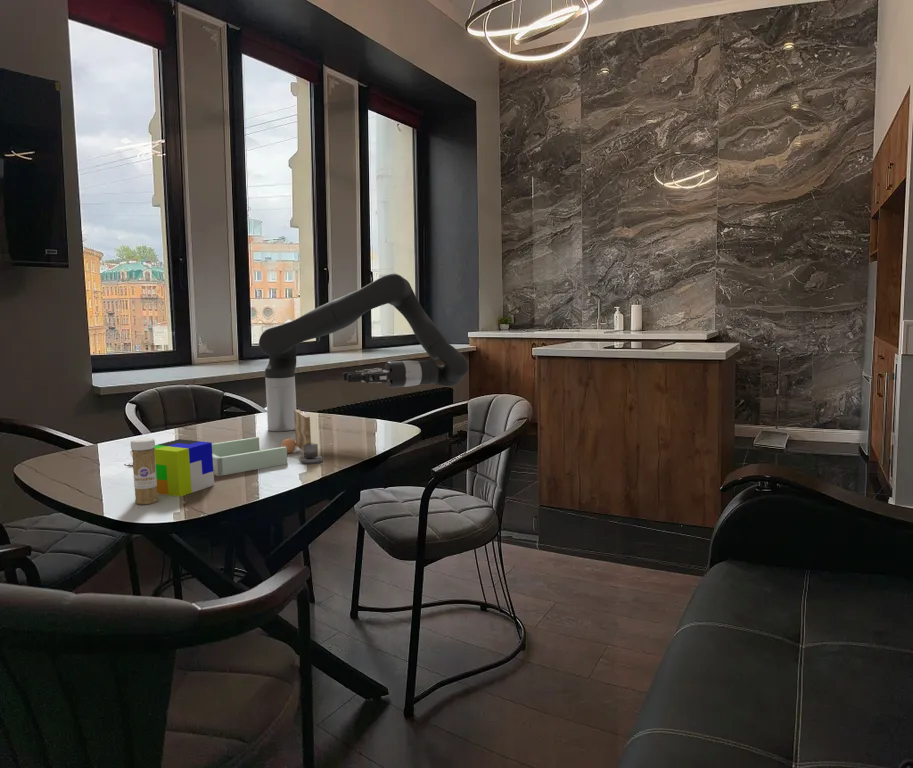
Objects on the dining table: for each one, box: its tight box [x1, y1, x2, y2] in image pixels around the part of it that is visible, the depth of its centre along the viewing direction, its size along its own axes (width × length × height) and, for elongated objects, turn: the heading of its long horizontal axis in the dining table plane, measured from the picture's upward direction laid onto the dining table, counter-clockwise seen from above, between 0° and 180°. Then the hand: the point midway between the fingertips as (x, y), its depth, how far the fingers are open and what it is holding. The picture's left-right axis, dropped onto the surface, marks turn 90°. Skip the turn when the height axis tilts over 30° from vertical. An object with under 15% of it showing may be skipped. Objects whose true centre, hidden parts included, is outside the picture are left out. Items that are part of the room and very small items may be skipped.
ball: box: [280, 438, 297, 454], centre depth 185 cm, size 4×4×4 cm
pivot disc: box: [299, 455, 323, 465], centre depth 174 cm, size 6×6×1 cm
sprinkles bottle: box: [130, 437, 159, 506], centre depth 140 cm, size 5×5×13 cm
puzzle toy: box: [154, 438, 215, 498], centre depth 151 cm, size 10×10×10 cm
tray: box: [212, 436, 288, 477], centre depth 173 cm, size 18×18×4 cm
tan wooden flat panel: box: [294, 408, 319, 458], centre depth 180 cm, size 18×4×10 cm, turn 25°
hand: (345, 377), depth 188 cm, fingers open, 3 cm apart
